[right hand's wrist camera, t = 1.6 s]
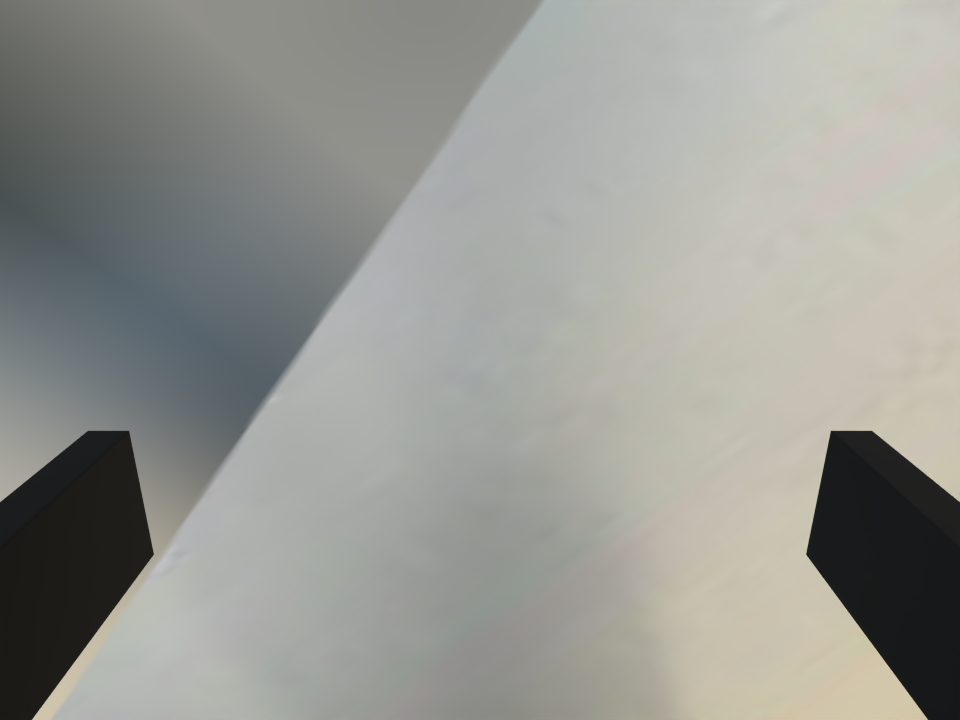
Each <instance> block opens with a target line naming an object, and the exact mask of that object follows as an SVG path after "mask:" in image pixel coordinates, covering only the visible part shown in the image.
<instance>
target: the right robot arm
mask: <svg viewBox="0 0 960 720" xmlns="http://www.w3.org/2000/svg"><path fill="white" fill-rule="evenodd" d="M153 555H154V553H153V548H152V543H151V538H150V533H149V528H148V523H147V518H146V513H145V508H144V503H143V498H142V493H141V488H140V483H139V478H138V473H137V468H136V463H135V458H134V453H133V448H132V443H131V438H130V433H129V431H87V432H86V433H85V434H84V435H82V436H81V437H80V438H79V439H78V440H76V441H75V442H74V443H73V444H71V445H70V446H69V447H68V448H66V449H65V450H64V451H63V452H62V453H60V454H59V455H58V456H57V457H55V458H54V459H53V460H52V461H50V462H49V463H48V464H47V465H46V466H44V467H43V468H42V469H41V470H39V471H38V472H37V473H36V474H35V475H33V476H32V477H31V478H29V479H28V480H27V481H26V482H25V483H23V484H22V485H21V486H20V487H18V488H17V489H16V490H15V491H14V492H12V493H11V494H10V495H9V496H7V497H6V498H5V499H4V500H2V501H1V502H0V720H32V719H33V718H34V716H35V715H36V713H37V712H38V711H39V709H40V708H41V707H42V705H43V704H44V703H45V701H46V700H47V699H48V697H49V696H50V694H51V693H52V692H53V690H54V689H55V688H56V686H57V685H58V684H59V682H60V681H61V680H62V678H63V677H64V676H65V674H66V673H67V671H68V670H69V669H70V667H71V666H72V665H73V663H74V662H75V661H76V659H77V658H78V657H79V655H80V654H81V652H82V651H83V650H84V648H85V647H86V646H87V644H88V643H89V642H90V640H91V639H92V638H93V636H94V635H95V634H96V632H97V631H98V629H99V628H100V627H101V625H102V624H103V623H104V621H105V620H106V619H107V617H108V616H109V615H110V613H111V612H112V610H113V609H114V608H115V606H116V605H117V604H118V602H119V601H120V600H121V598H122V597H123V596H124V594H125V593H126V592H127V590H128V589H129V587H130V586H131V585H132V583H133V582H134V581H135V579H136V578H137V577H138V575H139V574H140V573H141V571H142V570H143V568H144V567H145V566H146V564H147V563H148V562H149V560H150V559H151V558H152V556H153ZM806 555H807V556H808V558H809V559H810V560H811V562H812V563H813V564H814V566H815V567H816V568H817V570H818V571H819V573H820V574H821V575H822V577H823V578H824V579H825V581H826V582H827V583H828V585H829V586H830V587H831V589H832V590H833V592H834V593H835V594H836V596H837V597H838V598H839V600H840V601H841V602H842V604H843V605H844V606H845V608H846V609H847V610H848V612H849V613H850V615H851V616H852V617H853V619H854V620H855V621H856V623H857V624H858V625H859V627H860V628H861V629H862V631H863V632H864V634H865V635H866V636H867V638H868V639H869V640H870V642H871V643H872V644H873V646H874V647H875V648H876V650H877V651H878V652H879V654H880V655H881V657H882V658H883V659H884V661H885V662H886V663H887V665H888V666H889V667H890V669H891V670H892V671H893V673H894V674H895V676H896V677H897V678H898V680H899V681H900V682H901V684H902V685H903V686H904V688H905V689H906V690H907V692H908V693H909V694H910V696H911V697H912V699H913V700H914V701H915V703H916V704H917V705H918V707H919V708H920V709H921V711H922V712H923V713H924V715H925V716H926V718H927V719H928V720H960V502H959V501H958V500H956V499H955V498H954V497H953V496H951V495H950V494H949V493H948V492H947V491H945V490H944V489H943V488H942V487H940V486H939V485H938V484H937V483H935V482H934V481H933V480H932V479H931V478H929V477H928V476H927V475H926V474H924V473H923V472H922V471H921V470H919V469H918V468H917V467H916V466H914V465H913V464H912V463H911V462H910V461H908V460H907V459H906V458H905V457H903V456H902V455H901V454H900V453H898V452H897V451H896V450H895V449H894V448H892V447H891V446H890V445H889V444H887V443H886V442H885V441H884V440H882V439H881V438H880V437H879V436H878V435H876V434H875V433H874V432H873V431H831V433H830V438H829V443H828V448H827V453H826V458H825V463H824V468H823V473H822V478H821V483H820V488H819V493H818V498H817V503H816V508H815V513H814V518H813V523H812V528H811V533H810V538H809V543H808V548H807V553H806Z"/></svg>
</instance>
